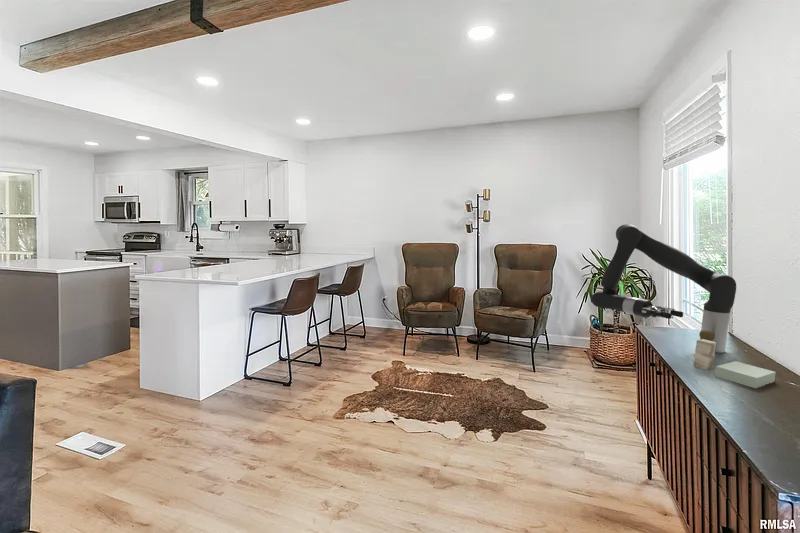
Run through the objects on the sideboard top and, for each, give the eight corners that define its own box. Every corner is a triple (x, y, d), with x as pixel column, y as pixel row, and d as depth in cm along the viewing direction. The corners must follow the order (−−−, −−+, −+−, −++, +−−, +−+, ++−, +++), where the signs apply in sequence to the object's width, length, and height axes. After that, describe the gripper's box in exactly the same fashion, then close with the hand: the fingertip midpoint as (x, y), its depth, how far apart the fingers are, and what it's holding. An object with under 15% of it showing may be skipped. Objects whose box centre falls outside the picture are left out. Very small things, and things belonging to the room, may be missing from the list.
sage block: (733, 371, 157) (735, 361, 157) (774, 383, 147) (775, 371, 146) (714, 377, 150) (716, 366, 150) (755, 389, 140) (757, 378, 139)
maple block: (699, 364, 163) (702, 339, 161) (712, 367, 159) (716, 342, 158) (693, 365, 160) (696, 340, 159) (706, 369, 156) (710, 343, 155)
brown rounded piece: (716, 360, 168) (720, 333, 167) (699, 358, 169) (703, 332, 168) (708, 355, 174) (712, 329, 173) (692, 354, 175) (695, 328, 174)
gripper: (628, 299, 177) (668, 307, 163) (647, 297, 184) (687, 305, 170) (626, 316, 178) (665, 326, 164) (645, 314, 185) (685, 323, 171)
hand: (676, 315), depth 167 cm, fingers open, 8 cm apart
